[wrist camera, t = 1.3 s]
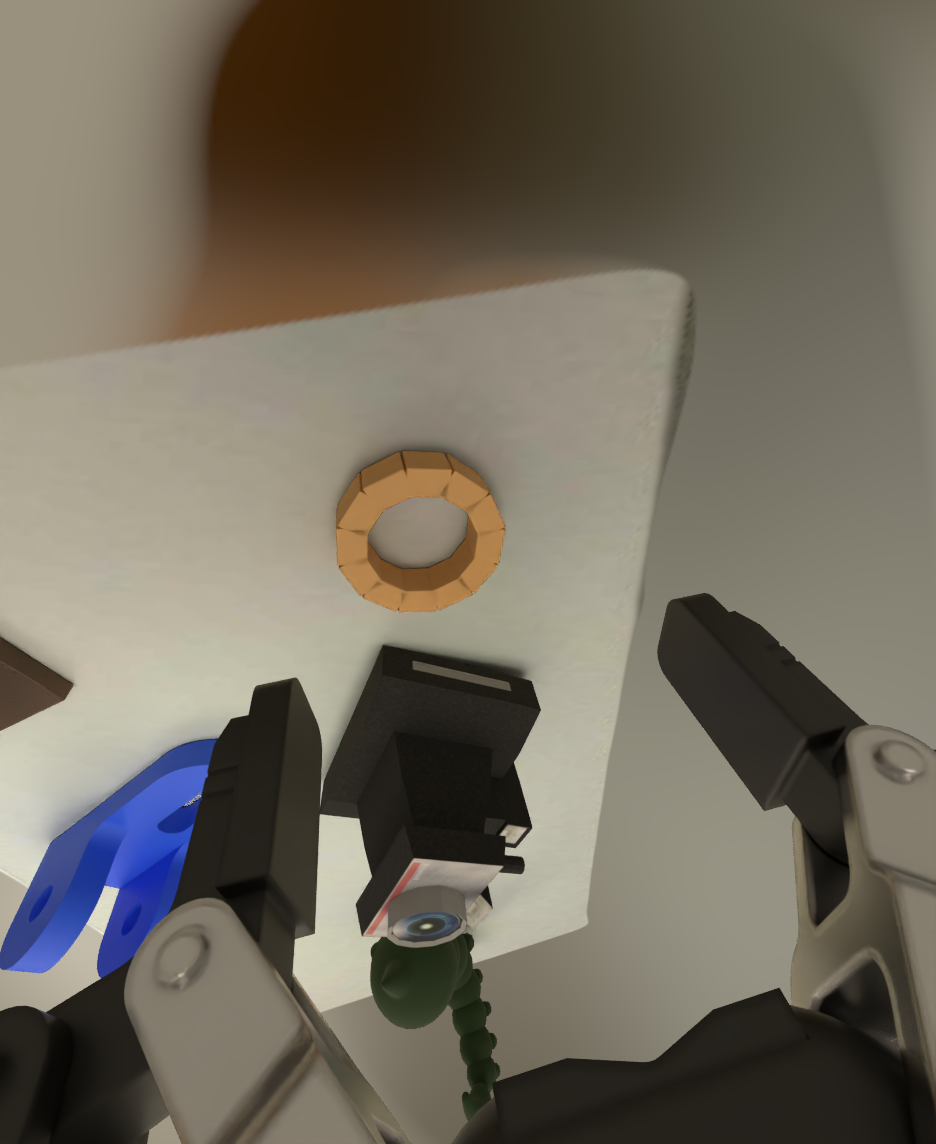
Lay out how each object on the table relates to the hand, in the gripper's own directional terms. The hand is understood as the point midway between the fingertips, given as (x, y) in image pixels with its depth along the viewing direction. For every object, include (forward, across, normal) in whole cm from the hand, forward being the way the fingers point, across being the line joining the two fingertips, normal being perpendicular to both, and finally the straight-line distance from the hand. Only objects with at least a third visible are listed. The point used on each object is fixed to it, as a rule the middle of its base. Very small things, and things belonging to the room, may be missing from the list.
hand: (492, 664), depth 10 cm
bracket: (+18, +23, +28) cm, 40 cm away
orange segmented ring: (+18, 0, +6) cm, 19 cm away
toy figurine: (+18, +7, +62) cm, 65 cm away
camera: (+18, +1, +26) cm, 31 cm away
